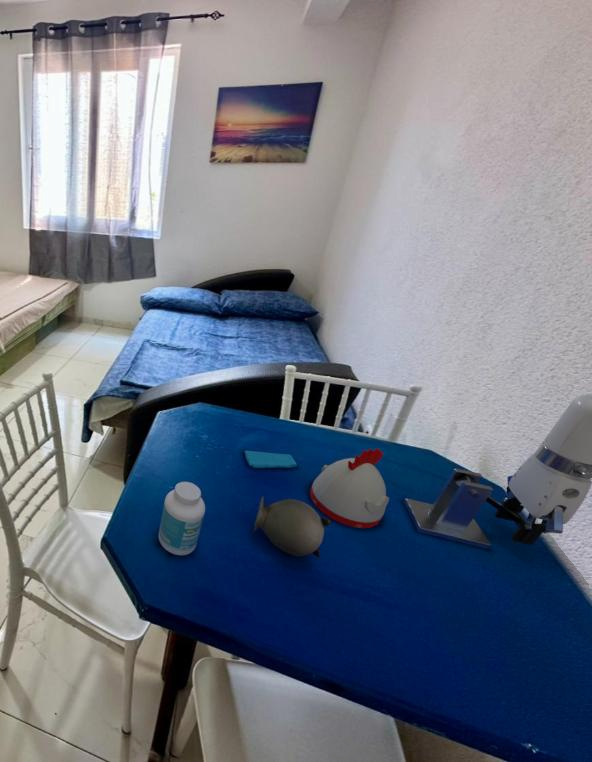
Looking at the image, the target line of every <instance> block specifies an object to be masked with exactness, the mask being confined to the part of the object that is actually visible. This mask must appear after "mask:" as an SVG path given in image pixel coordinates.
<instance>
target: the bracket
mask: <svg viewBox="0 0 592 762" xmlns="http://www.w3.org/2000/svg"><path fill="white" fill-rule="evenodd" d="M465 475H467V476H469V477H470V478H472V479H473V480H475V481H476V482H478V484H476V483H471V482H466V481H463V482H462V484H461V485H460V487H458V485H457V484H456V482H455V481H456V480H458V479H460V478H462V477H463V476H465ZM482 478H483V474H482V473H480V472H475V471H470V470H465V469H461V468H453V469H452V472H451V473H450V475H449V477H448V478H447V480H446V481H445V483H444V484H443V486H442V487H441V488H440V491H439V493H438V494H437V496H436V498H435V499H434V501H433V502H432V503H428V502H423V501H419V500H416V499H411V498H405V499H404V501H403V503H404V506H405V508H406V509H407V512H408V514H409V516H410V518H411V520H412V522H413V525H414V527H415V529H416V530H417V532H418V533H420V534H425V535H428V536H433V537H438V538H441V539H446V540H449V541H453V542H458V543H462V544H465V545H470V546H474V547H477V548H482V549H486V550H489V549H490V548H491V546H492V545H491V543H490V541H489V539H488V538H487V537H486V535H485V534H484V532H483V530H482V529H481V528H480V526H479V524H478V523H477V521H476V520H475V517H476V515H477V514H478V513H479V512H480V510H481V508H482V507H483V505H484V504H485V502H486V499H487V498H488V497H489V496H490V495H491V494H492V492H493V491H494V489H493V488H492V486H490V485H485V484H480V482H481V480H482Z"/></svg>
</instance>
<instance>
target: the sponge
mask: <svg viewBox="0 0 592 762" xmlns="http://www.w3.org/2000/svg"><path fill="white" fill-rule="evenodd" d="M244 457H245V459H246V461H247V464H248V465H249V467H251V468H254V469H275V468H276V469H290V468H291V469H292V468H296V467H297V466H298V464H297V462H296V460H295V459H294V457H293V455H292V454H288V453H282V454H281V453H275V452H263V451H253V450H244Z"/></svg>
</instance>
